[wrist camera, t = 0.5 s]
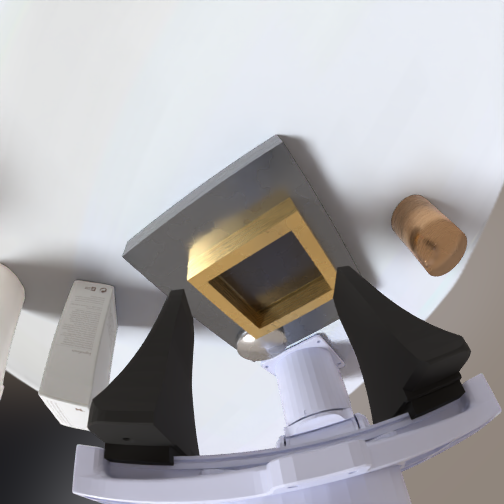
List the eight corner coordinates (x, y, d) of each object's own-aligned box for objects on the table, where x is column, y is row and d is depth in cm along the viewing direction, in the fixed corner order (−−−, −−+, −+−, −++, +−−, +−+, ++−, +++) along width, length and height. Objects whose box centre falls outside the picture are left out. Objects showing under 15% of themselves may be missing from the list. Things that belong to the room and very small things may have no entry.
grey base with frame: (365, 286, 29) (380, 314, 26) (251, 347, 32) (256, 377, 29) (276, 134, 19) (290, 150, 16) (127, 241, 23) (116, 273, 19)
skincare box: (73, 277, 24) (31, 391, 14) (117, 284, 25) (88, 406, 15) (82, 321, 27) (56, 424, 18) (121, 327, 28) (104, 435, 19)
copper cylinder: (432, 221, 25) (468, 257, 21) (397, 243, 26) (429, 284, 22) (423, 186, 23) (464, 221, 18) (385, 210, 24) (422, 251, 19)
